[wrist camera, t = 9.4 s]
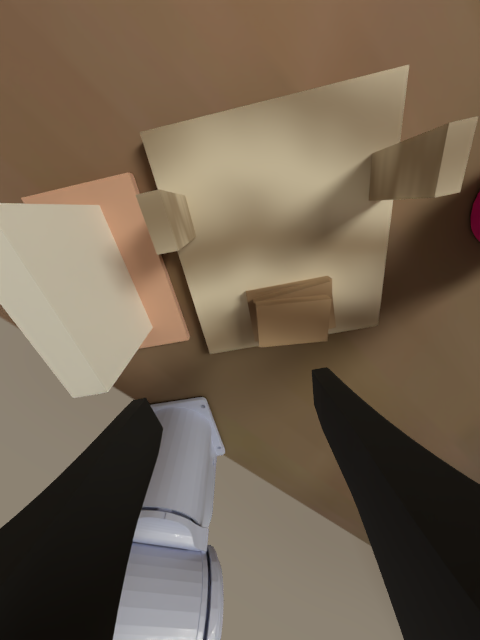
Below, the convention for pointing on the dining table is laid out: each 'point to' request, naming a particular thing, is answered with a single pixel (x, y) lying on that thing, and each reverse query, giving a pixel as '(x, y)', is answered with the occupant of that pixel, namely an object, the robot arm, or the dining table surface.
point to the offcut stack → (292, 312)
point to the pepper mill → (476, 217)
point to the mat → (130, 249)
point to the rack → (294, 196)
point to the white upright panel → (70, 292)
